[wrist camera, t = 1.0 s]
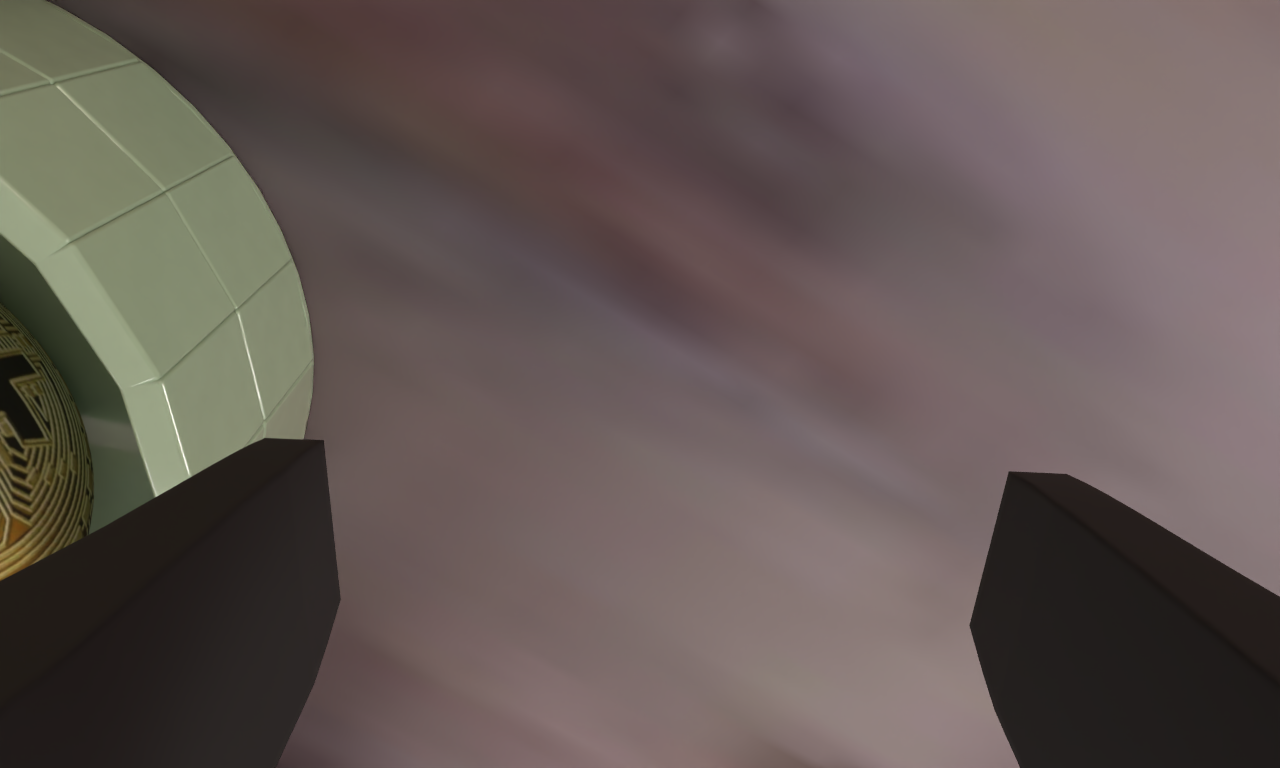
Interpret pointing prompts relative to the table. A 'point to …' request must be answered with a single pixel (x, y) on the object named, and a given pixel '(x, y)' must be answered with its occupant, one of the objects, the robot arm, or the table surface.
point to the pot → (141, 261)
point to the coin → (38, 454)
